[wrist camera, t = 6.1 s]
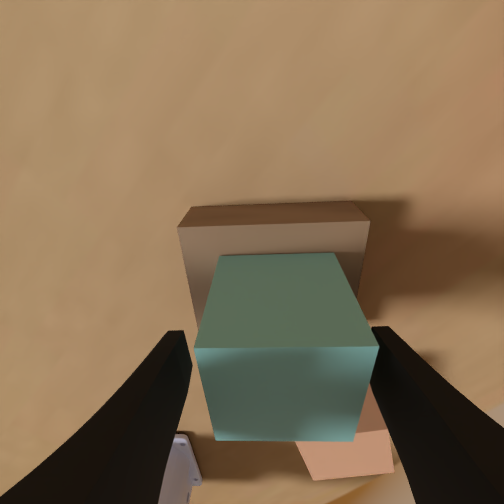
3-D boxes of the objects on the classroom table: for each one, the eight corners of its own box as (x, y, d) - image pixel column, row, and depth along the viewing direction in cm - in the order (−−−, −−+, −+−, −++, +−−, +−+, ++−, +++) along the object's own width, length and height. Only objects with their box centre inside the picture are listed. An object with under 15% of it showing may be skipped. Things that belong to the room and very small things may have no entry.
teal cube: (324, 334, 14) (353, 441, 9) (229, 335, 14) (215, 440, 10) (333, 252, 11) (379, 346, 7) (219, 256, 12) (193, 348, 7)
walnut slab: (333, 317, 17) (345, 355, 14) (212, 318, 18) (203, 356, 15) (348, 198, 13) (370, 220, 11) (193, 204, 14) (176, 227, 11)
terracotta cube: (366, 394, 20) (394, 472, 16) (302, 403, 21) (313, 480, 17) (357, 351, 18) (388, 429, 14) (287, 364, 19) (294, 441, 15)
